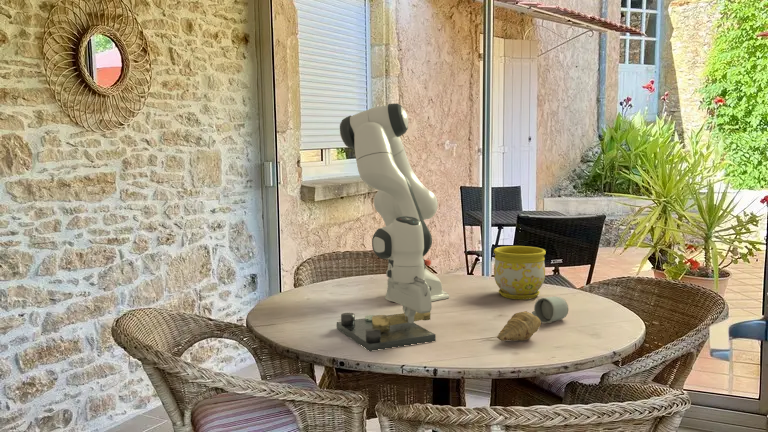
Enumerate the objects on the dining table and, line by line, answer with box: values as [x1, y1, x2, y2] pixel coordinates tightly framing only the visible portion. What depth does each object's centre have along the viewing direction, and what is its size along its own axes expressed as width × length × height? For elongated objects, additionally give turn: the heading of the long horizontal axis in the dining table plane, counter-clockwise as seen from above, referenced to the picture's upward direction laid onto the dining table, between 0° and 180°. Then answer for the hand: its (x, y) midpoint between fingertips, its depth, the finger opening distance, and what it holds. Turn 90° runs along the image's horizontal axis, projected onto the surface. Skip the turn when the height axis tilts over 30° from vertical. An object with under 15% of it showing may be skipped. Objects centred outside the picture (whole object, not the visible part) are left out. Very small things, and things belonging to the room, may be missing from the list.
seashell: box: [496, 310, 542, 342], centre depth 187 cm, size 14×8×8 cm, turn 132°
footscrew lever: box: [372, 311, 431, 332], centre depth 195 cm, size 19×5×4 cm, turn 121°
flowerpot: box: [493, 245, 547, 300], centre depth 240 cm, size 18×18×16 cm
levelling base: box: [336, 312, 437, 352], centre depth 195 cm, size 20×24×5 cm
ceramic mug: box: [531, 296, 569, 324], centre depth 209 cm, size 11×8×8 cm
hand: (409, 322), depth 194 cm, fingers closed
